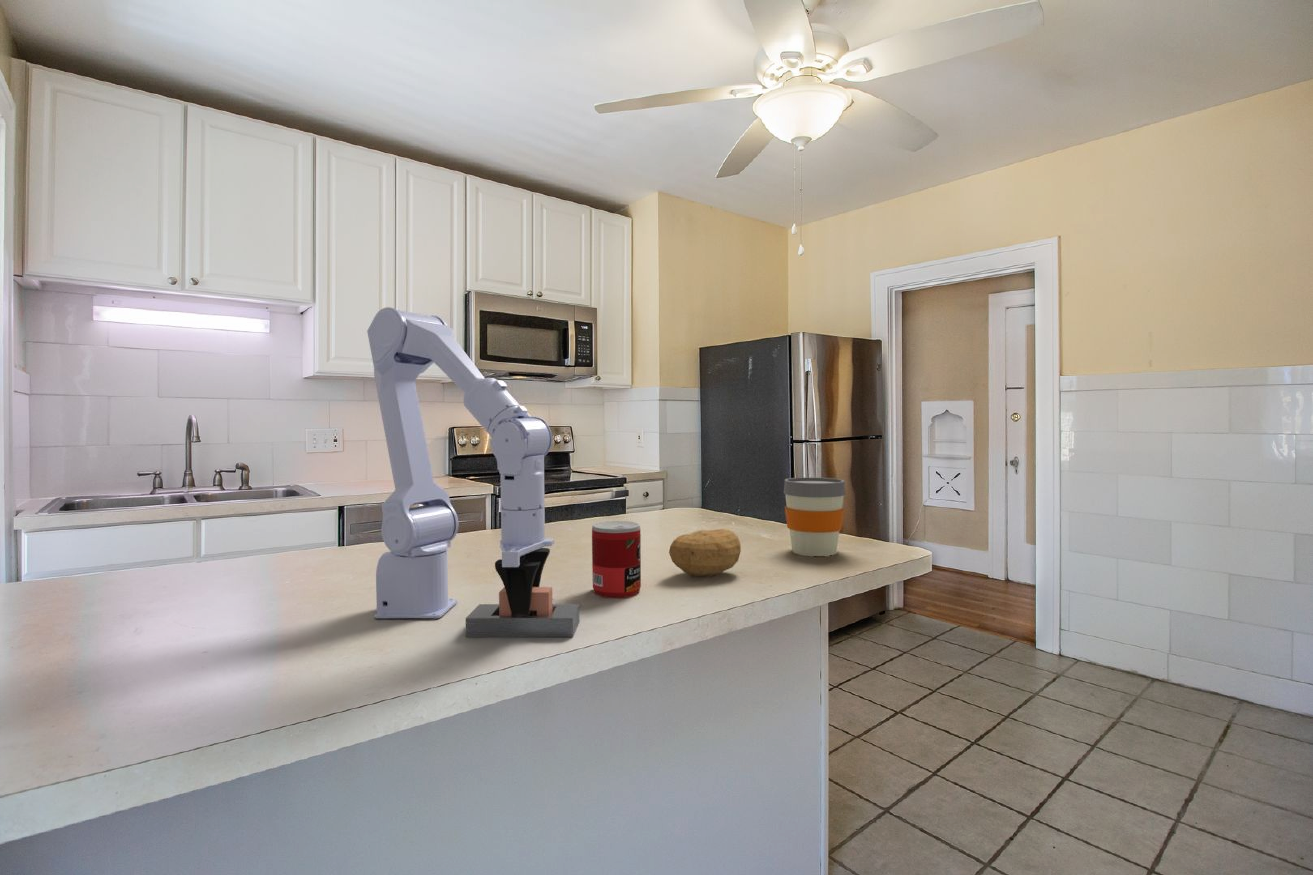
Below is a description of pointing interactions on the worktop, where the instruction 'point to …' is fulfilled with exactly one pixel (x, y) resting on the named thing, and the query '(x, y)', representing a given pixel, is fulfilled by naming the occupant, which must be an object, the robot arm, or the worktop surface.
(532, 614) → the grey slotted block
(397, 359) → the robot arm
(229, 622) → the worktop surface
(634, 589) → the canned food
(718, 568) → the potato
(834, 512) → the reusable coffee cup
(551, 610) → the clip
